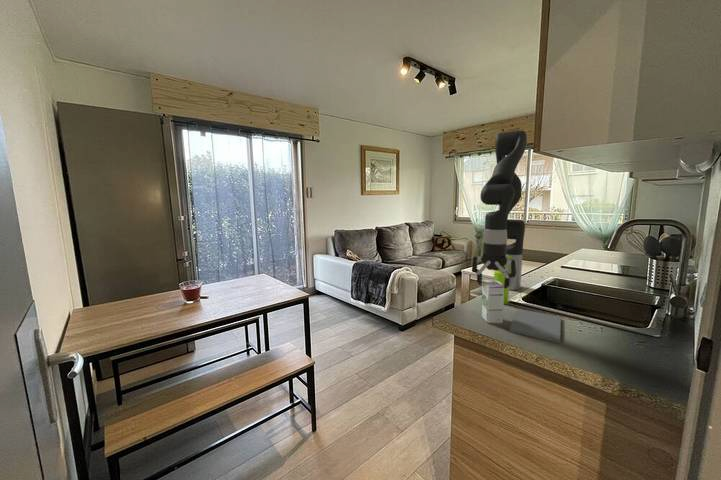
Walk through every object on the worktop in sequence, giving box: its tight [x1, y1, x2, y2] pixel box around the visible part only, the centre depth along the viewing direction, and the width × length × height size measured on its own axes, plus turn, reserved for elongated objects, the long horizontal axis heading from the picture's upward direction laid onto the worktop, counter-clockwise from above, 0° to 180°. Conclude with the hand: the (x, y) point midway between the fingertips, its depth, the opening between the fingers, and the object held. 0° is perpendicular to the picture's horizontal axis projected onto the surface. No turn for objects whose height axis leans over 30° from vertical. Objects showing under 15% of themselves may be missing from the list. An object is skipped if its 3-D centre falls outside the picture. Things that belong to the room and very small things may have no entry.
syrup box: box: [480, 279, 504, 324], centre depth 104 cm, size 6×6×14 cm
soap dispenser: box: [493, 256, 513, 305], centre depth 121 cm, size 6×7×20 cm
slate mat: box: [509, 308, 562, 344], centre depth 100 cm, size 20×14×1 cm
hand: (492, 285), depth 103 cm, fingers open, 8 cm apart
